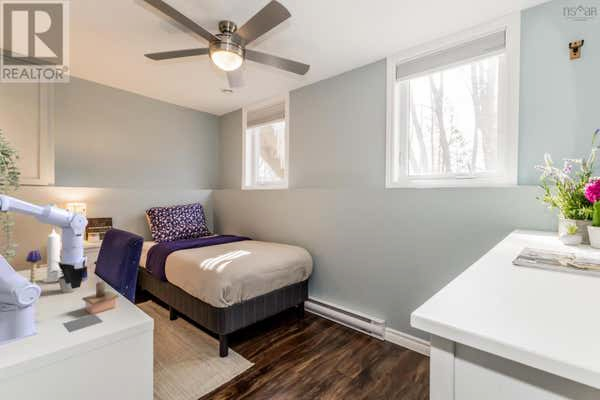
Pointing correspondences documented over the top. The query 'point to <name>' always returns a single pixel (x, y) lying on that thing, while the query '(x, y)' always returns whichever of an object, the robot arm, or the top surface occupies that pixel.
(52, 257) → the candle
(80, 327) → the mat
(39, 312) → the top surface
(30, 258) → the toy lamp
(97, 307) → the open box
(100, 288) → the lid
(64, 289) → the house plant
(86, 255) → the energy drink
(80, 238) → the robot arm
